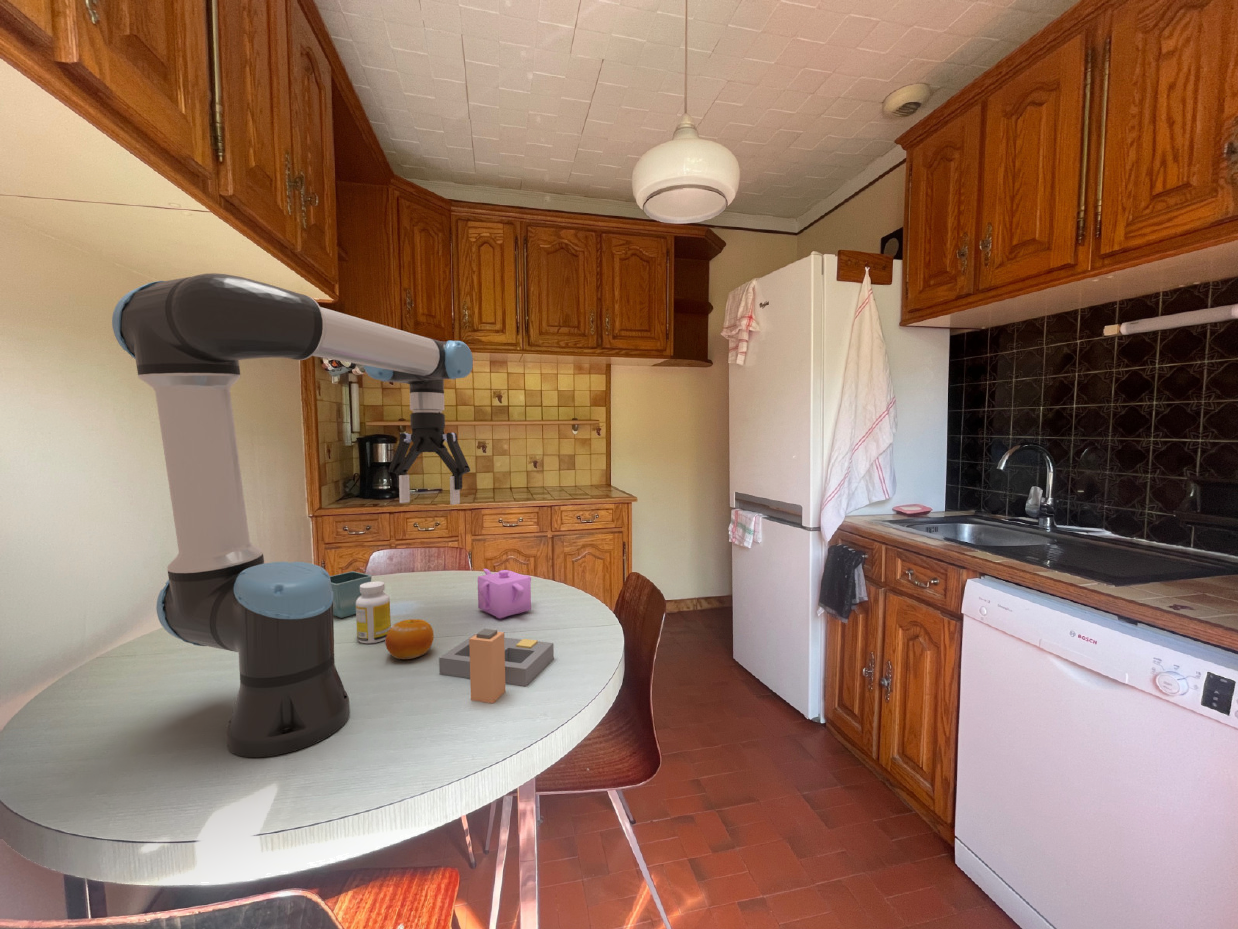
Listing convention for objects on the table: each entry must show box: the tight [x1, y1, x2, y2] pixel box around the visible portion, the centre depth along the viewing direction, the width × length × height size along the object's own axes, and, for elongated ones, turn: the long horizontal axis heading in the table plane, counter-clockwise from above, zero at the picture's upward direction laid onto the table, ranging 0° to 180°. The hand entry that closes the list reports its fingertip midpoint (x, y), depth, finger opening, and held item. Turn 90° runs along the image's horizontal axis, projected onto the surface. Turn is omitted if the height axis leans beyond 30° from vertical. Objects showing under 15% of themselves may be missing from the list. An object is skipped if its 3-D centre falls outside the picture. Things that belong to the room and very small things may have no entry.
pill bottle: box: [355, 580, 392, 644], centre depth 109 cm, size 6×6×12 cm
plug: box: [469, 628, 506, 704], centre depth 85 cm, size 4×4×11 cm
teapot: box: [477, 568, 532, 619], centre depth 126 cm, size 18×14×10 cm
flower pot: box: [329, 570, 373, 619], centre depth 125 cm, size 9×9×9 cm
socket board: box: [438, 633, 555, 687], centre depth 96 cm, size 12×17×3 cm
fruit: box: [384, 618, 435, 660], centre depth 101 cm, size 8×8×8 cm
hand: (429, 503), depth 122 cm, fingers open, 13 cm apart
